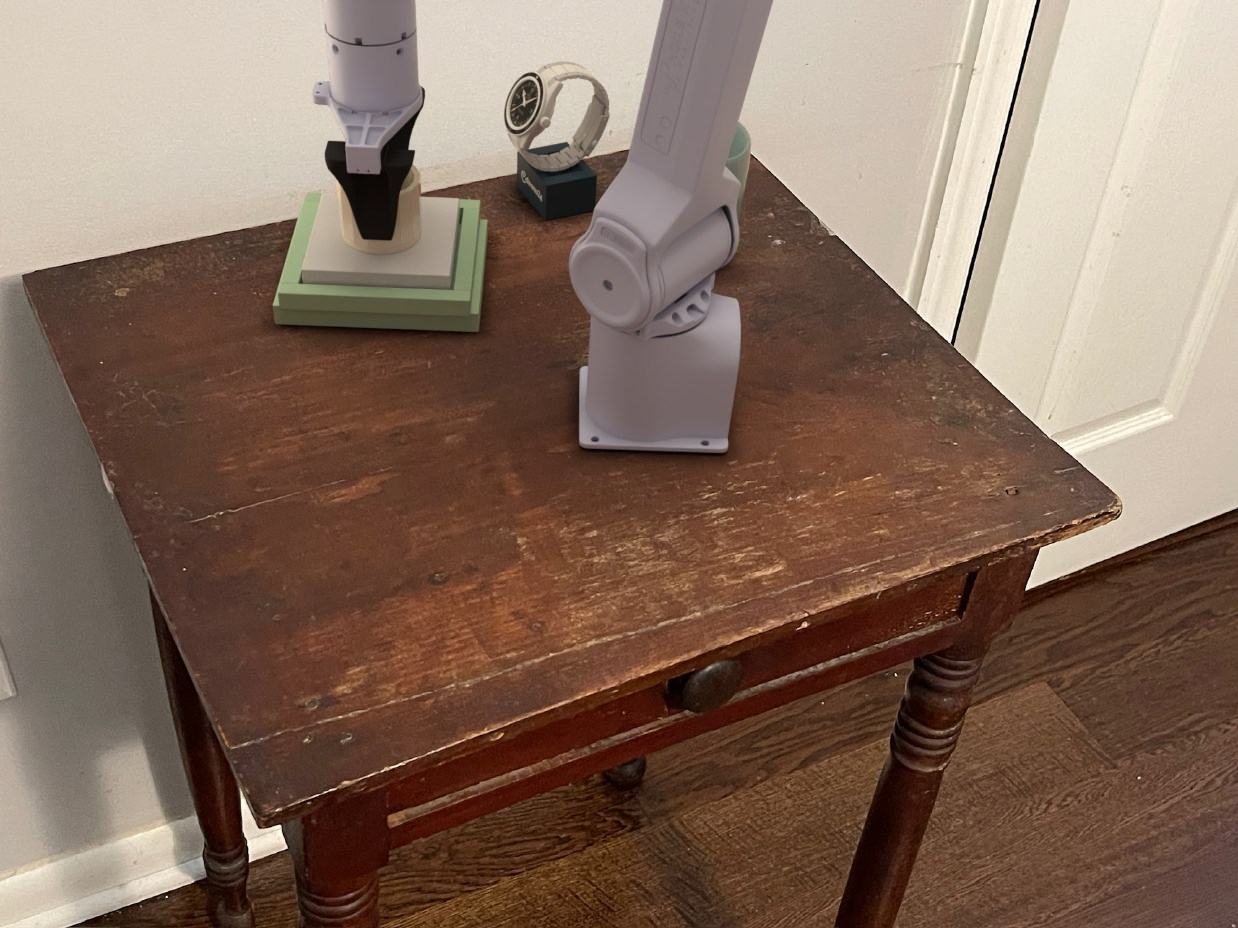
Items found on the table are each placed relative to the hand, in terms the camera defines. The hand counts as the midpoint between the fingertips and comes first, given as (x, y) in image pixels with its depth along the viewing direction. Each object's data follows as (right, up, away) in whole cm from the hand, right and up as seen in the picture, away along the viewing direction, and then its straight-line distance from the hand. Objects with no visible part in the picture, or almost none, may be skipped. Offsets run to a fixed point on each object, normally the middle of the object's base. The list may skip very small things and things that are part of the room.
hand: (382, 212), depth 94 cm
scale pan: (0, -2, +2) cm, 3 cm away
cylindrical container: (0, -1, +1) cm, 2 cm away
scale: (0, -4, +4) cm, 6 cm away
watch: (+11, +3, +13) cm, 18 cm away
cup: (+22, -2, +9) cm, 23 cm away
